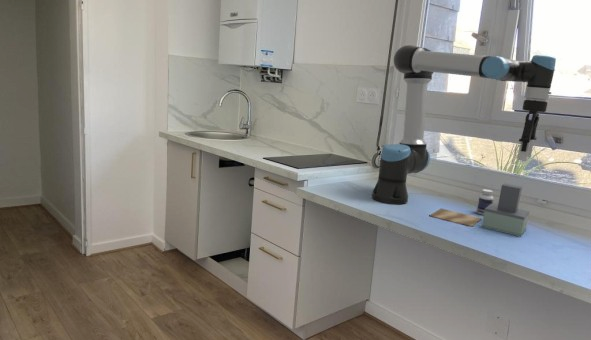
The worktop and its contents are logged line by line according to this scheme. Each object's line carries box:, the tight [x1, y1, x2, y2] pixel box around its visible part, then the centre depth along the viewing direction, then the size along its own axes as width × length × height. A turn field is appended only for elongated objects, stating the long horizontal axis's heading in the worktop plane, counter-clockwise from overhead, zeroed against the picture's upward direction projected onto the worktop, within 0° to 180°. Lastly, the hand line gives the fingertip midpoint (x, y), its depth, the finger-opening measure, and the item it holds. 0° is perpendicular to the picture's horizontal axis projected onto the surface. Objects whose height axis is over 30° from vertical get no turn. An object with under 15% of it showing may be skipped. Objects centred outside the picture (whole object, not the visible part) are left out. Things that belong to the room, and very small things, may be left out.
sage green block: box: [480, 211, 529, 237], centre depth 160 cm, size 13×11×6 cm
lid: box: [485, 183, 530, 220], centre depth 158 cm, size 13×11×10 cm
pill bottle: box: [476, 188, 494, 216], centre depth 177 cm, size 5×5×10 cm
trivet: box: [429, 208, 483, 228], centre depth 168 cm, size 16×14×1 cm
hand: (524, 158), depth 160 cm, fingers open, 13 cm apart
